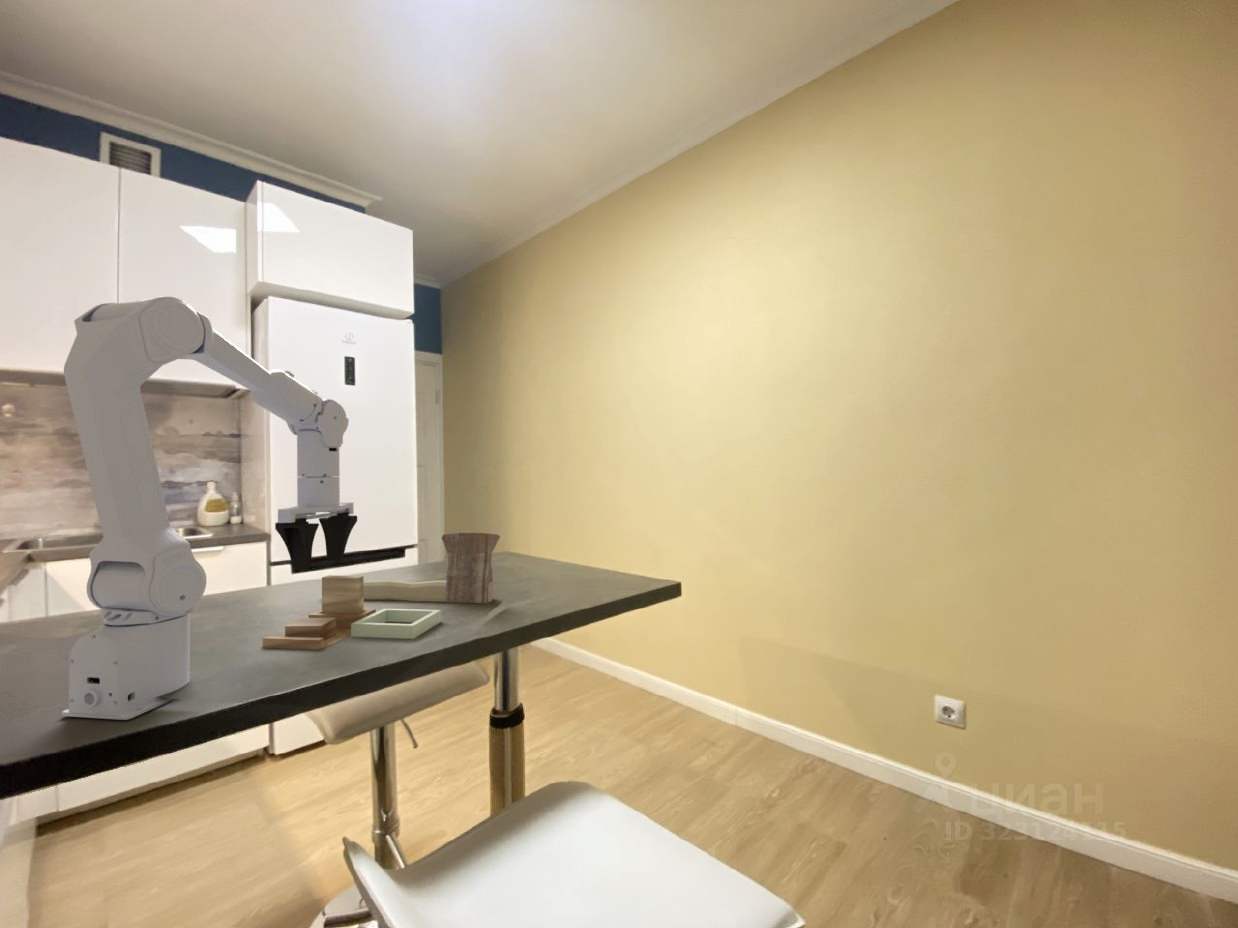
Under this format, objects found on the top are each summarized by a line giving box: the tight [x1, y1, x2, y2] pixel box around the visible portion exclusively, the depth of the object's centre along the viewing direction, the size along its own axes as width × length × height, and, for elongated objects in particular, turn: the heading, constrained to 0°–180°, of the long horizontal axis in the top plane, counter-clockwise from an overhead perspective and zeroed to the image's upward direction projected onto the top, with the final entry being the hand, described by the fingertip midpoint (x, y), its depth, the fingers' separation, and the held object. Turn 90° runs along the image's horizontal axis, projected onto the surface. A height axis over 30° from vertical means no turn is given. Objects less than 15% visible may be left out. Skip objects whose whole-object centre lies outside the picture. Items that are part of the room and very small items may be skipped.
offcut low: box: [284, 627, 337, 641], centre depth 76 cm, size 4×5×1 cm
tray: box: [350, 608, 442, 640], centre depth 81 cm, size 9×10×3 cm
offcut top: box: [284, 617, 336, 636], centre depth 76 cm, size 4×5×1 cm
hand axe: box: [363, 532, 501, 604], centre depth 100 cm, size 35×3×14 cm, turn 83°
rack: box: [261, 608, 377, 650], centre depth 79 cm, size 14×9×3 cm, turn 173°
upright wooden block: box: [321, 574, 365, 614], centre depth 83 cm, size 2×6×8 cm, turn 82°
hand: (319, 565), depth 82 cm, fingers open, 7 cm apart
